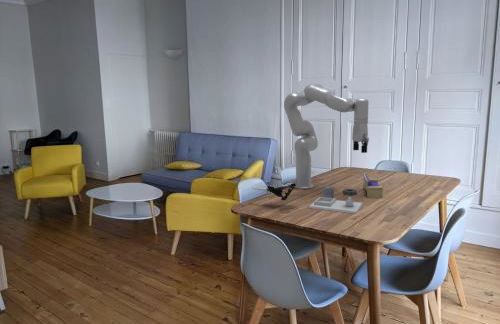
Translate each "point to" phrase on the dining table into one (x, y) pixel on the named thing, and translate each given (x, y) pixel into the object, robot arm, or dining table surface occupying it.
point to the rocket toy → (278, 191)
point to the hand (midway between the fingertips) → (359, 151)
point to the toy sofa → (372, 187)
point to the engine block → (328, 192)
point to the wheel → (349, 192)
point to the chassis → (336, 205)
